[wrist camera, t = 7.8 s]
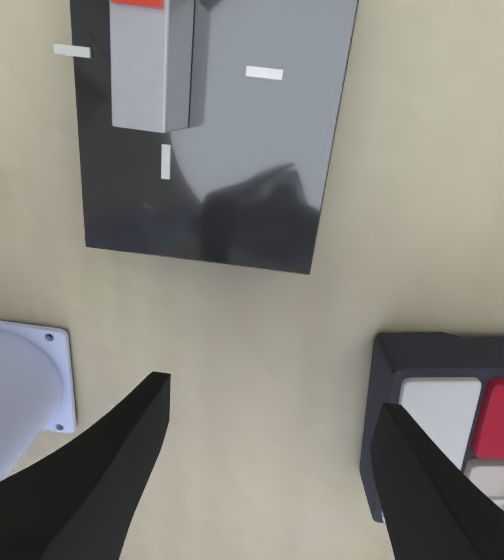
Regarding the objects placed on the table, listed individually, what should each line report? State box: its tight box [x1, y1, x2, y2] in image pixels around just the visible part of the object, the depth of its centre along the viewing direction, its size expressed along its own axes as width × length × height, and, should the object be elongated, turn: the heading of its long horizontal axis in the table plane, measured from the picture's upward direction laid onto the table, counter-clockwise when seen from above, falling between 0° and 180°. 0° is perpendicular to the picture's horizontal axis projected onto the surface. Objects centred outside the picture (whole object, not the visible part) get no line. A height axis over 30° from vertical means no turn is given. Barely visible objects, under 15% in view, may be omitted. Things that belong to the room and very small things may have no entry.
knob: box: [109, 0, 194, 133], centre depth 13 cm, size 5×2×4 cm, turn 173°
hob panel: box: [54, 0, 359, 275], centre depth 17 cm, size 11×12×3 cm
